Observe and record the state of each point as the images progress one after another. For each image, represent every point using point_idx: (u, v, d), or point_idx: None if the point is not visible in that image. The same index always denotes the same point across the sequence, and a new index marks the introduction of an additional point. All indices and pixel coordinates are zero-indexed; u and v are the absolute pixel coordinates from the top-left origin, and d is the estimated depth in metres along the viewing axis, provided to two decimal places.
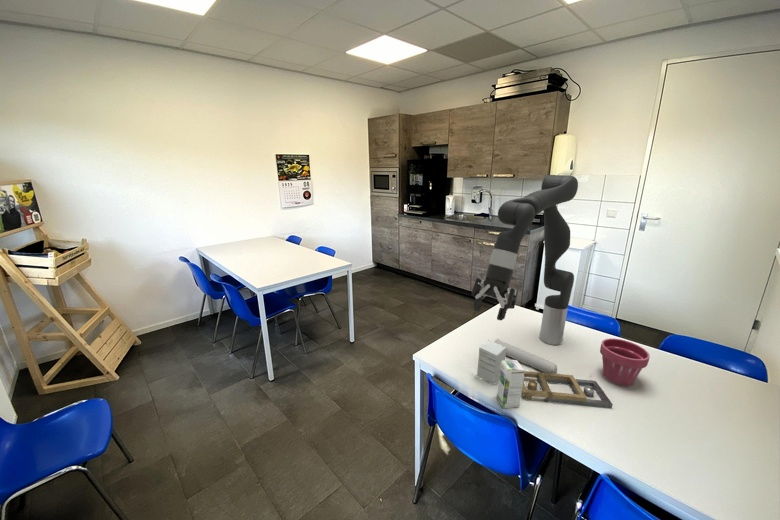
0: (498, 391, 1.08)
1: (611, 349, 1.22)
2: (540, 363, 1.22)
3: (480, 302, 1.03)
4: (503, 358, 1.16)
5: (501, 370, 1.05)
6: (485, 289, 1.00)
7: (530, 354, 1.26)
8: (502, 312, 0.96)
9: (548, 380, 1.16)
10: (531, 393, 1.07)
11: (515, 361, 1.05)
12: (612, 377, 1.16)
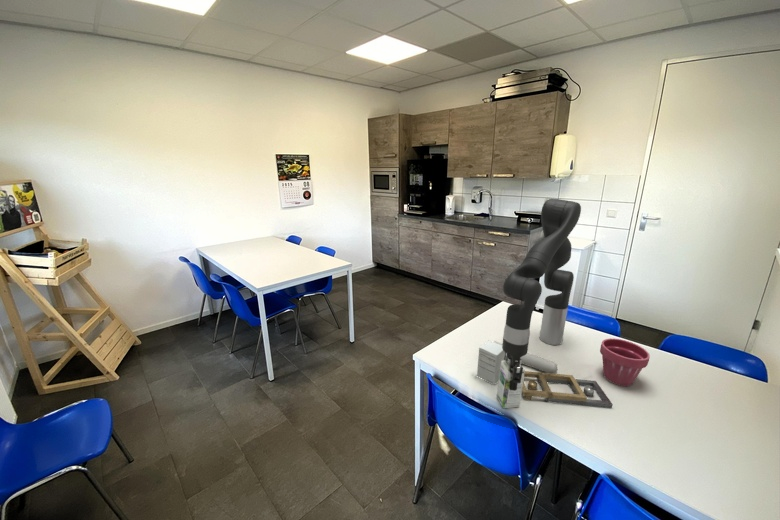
0: (498, 391, 1.08)
1: (611, 349, 1.22)
2: (540, 363, 1.22)
3: None
4: (503, 358, 1.16)
5: (501, 370, 1.05)
6: (506, 357, 1.05)
7: (529, 354, 1.26)
8: (511, 384, 1.00)
9: (548, 380, 1.16)
10: (531, 393, 1.07)
11: None
12: (612, 377, 1.16)
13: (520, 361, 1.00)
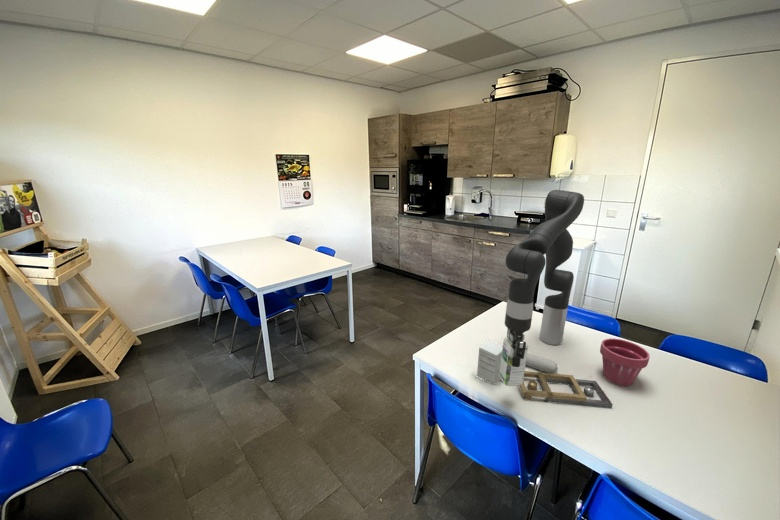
0: (500, 369, 1.05)
1: (611, 349, 1.22)
2: (541, 363, 1.22)
3: None
4: None
5: (504, 347, 1.03)
6: (508, 333, 1.02)
7: (529, 355, 1.25)
8: (514, 360, 0.98)
9: (548, 380, 1.16)
10: (531, 393, 1.07)
11: None
12: (612, 377, 1.16)
13: (523, 337, 0.98)
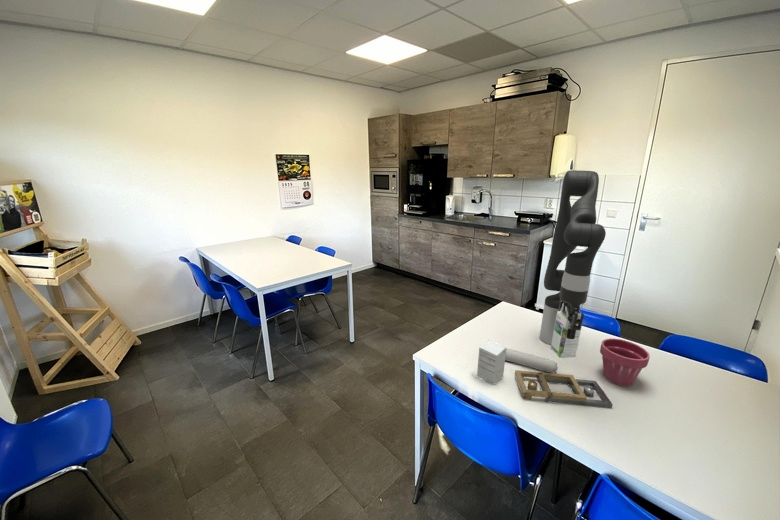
0: (552, 342, 1.08)
1: (611, 349, 1.22)
2: (541, 363, 1.22)
3: None
4: (503, 358, 1.16)
5: (557, 320, 1.05)
6: (562, 307, 1.05)
7: (529, 355, 1.25)
8: (570, 332, 1.01)
9: (548, 380, 1.16)
10: (531, 393, 1.07)
11: None
12: (612, 377, 1.16)
13: None
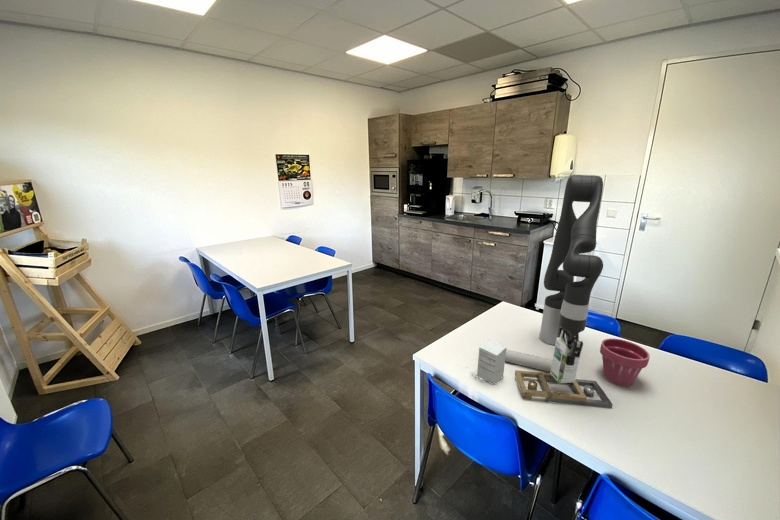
0: (552, 367, 1.11)
1: (611, 349, 1.22)
2: (541, 363, 1.22)
3: None
4: (503, 358, 1.16)
5: (557, 347, 1.08)
6: (561, 333, 1.08)
7: (529, 355, 1.25)
8: (569, 359, 1.03)
9: (548, 380, 1.16)
10: (531, 393, 1.07)
11: None
12: (612, 377, 1.16)
13: None
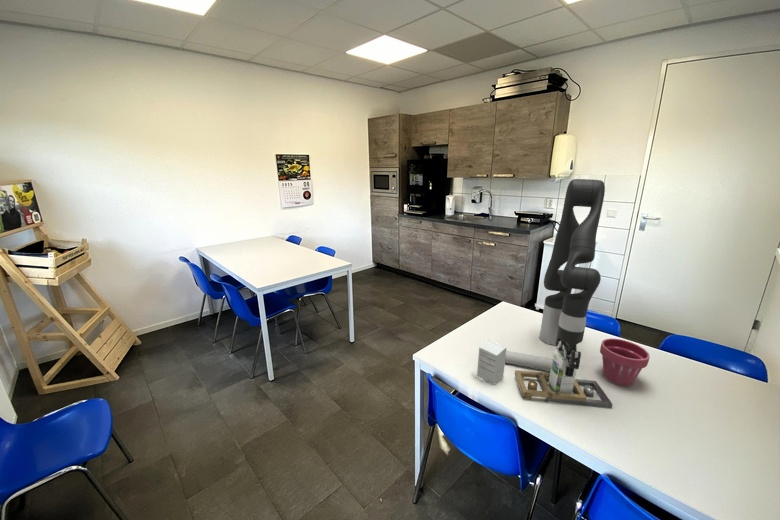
0: (549, 380, 1.13)
1: (611, 349, 1.22)
2: (542, 363, 1.22)
3: None
4: (503, 358, 1.16)
5: (554, 360, 1.10)
6: (559, 344, 1.09)
7: (529, 356, 1.25)
8: (568, 370, 1.04)
9: (548, 380, 1.16)
10: (531, 393, 1.07)
11: None
12: (612, 377, 1.16)
13: (575, 348, 1.04)
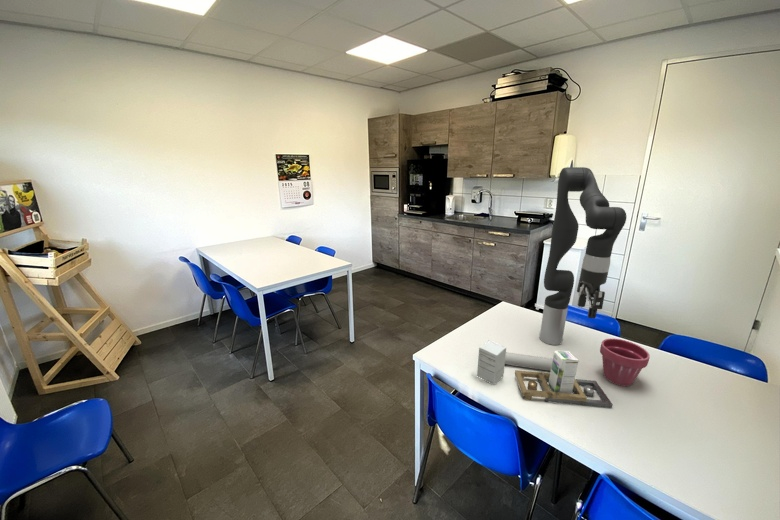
0: (549, 380, 1.13)
1: (611, 349, 1.22)
2: (542, 363, 1.22)
3: (584, 299, 1.12)
4: (503, 358, 1.16)
5: (554, 360, 1.10)
6: (582, 288, 1.10)
7: (529, 356, 1.24)
8: (591, 311, 1.04)
9: (548, 380, 1.16)
10: (531, 393, 1.07)
11: (568, 352, 1.10)
12: (612, 377, 1.16)
13: None
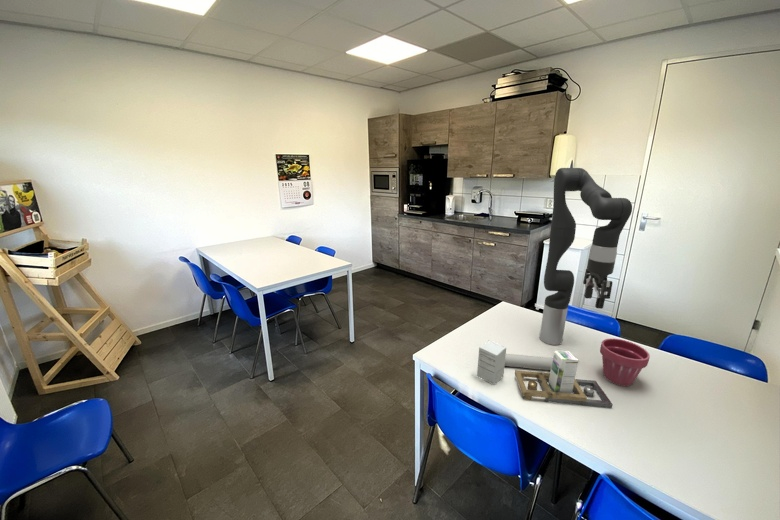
0: (549, 380, 1.13)
1: (611, 349, 1.22)
2: (542, 363, 1.22)
3: (591, 290, 1.14)
4: (503, 358, 1.16)
5: (554, 360, 1.10)
6: (588, 279, 1.11)
7: (529, 357, 1.24)
8: (599, 301, 1.06)
9: (548, 380, 1.16)
10: (531, 393, 1.07)
11: (568, 352, 1.10)
12: (612, 377, 1.16)
13: None
